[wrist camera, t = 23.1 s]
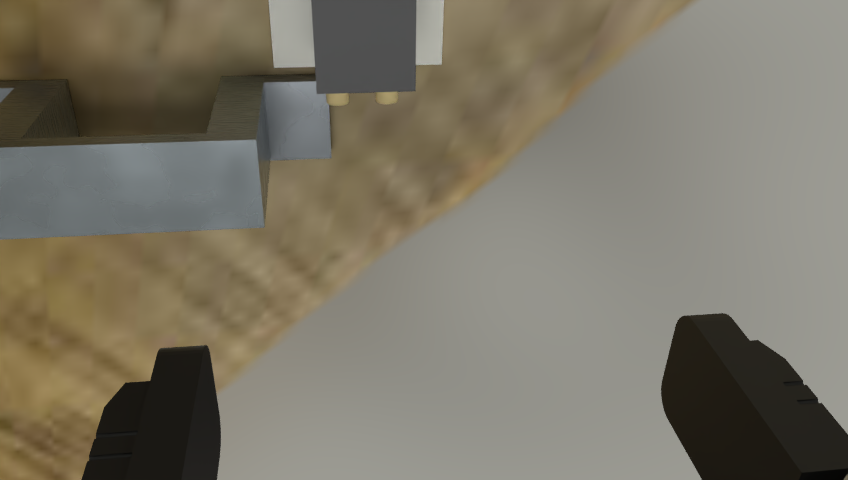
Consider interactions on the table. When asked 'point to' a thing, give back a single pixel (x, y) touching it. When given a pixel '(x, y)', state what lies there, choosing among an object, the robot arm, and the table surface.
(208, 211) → the grey arch bracket
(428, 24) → the pad
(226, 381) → the table surface
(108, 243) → the table surface
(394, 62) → the plug
